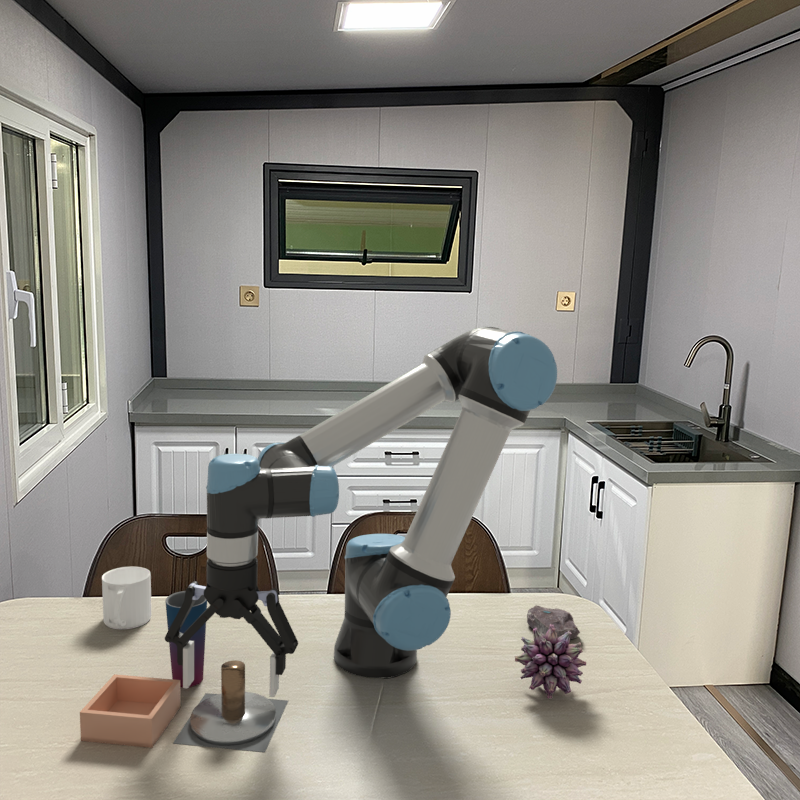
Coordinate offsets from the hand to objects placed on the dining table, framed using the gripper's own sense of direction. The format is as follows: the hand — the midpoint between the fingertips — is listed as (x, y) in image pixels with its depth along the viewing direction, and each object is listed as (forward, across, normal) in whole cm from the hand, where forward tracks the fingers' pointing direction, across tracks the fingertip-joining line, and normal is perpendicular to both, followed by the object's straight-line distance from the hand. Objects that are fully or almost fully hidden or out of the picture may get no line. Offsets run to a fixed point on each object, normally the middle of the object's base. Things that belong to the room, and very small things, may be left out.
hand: (231, 688), depth 123 cm
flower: (+5, -50, -17) cm, 53 cm away
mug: (+6, +31, -30) cm, 44 cm away
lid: (+6, 0, 0) cm, 6 cm away
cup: (+6, +11, -11) cm, 17 cm away
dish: (+6, +15, +3) cm, 16 cm away
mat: (+6, 0, 0) cm, 6 cm away
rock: (+5, -53, -40) cm, 67 cm away
